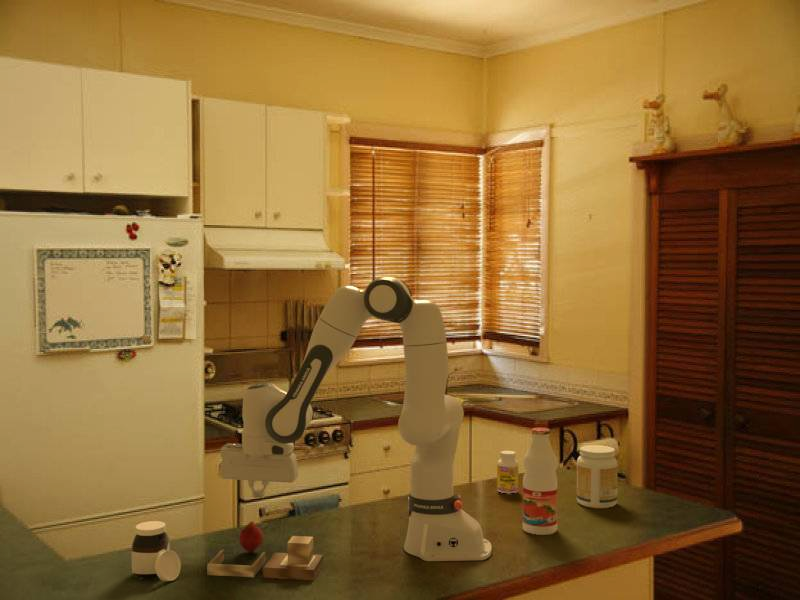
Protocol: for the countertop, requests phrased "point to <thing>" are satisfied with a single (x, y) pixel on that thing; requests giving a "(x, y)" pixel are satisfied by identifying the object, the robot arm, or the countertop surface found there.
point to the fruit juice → (540, 485)
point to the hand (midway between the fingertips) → (258, 496)
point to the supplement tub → (597, 476)
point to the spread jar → (153, 553)
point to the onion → (250, 537)
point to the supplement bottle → (507, 473)
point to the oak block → (300, 550)
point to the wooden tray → (267, 567)
